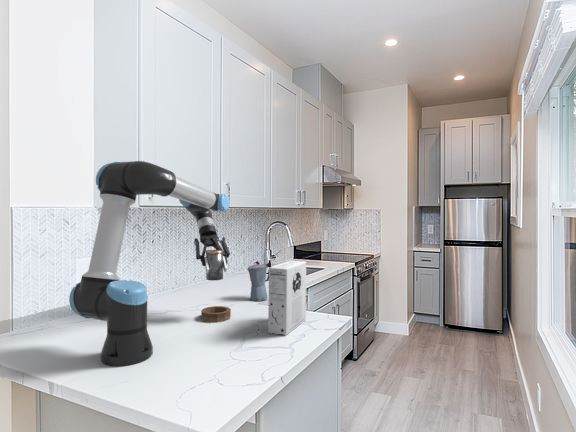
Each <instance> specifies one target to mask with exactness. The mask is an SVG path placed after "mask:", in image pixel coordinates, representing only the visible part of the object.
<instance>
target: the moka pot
mask: <svg viewBox="0 0 576 432" xmlns="http://www.w3.org/2000/svg"><path fill="white" fill-rule="evenodd" d="M259 262H260V261H258V260H256V261H255V264H254V265H250V266H248V267H247V269H246V270H247V271H248V273H249V279H250V282H251V284H250V285H251V287H250V301H253V302H263V301H266V300H268V299H269V296H268V293H267V285H266V282H269V268H270V267H272V266H271V265H270V264H269V263H268V262H267V263H266V264H265V263H264V264H259ZM267 268H268V269H267ZM267 270H268V271H267Z"/></svg>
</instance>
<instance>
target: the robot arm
mask: <svg viewBox="0 0 576 432" xmlns="http://www.w3.org/2000/svg"><path fill="white" fill-rule="evenodd" d="M95 185H96V186H97V190H98V191H99V198H100V199H101V200H102V206H101V210H100V211H101V212H100V216H99V220H98V223H97V229H96V234H95V239H94V242H93V248H92V252H91V257H90V262H89V266H88V269H87V271H86V272H85V273H83V274H82V275H81V279H80V281H79V282H78V283H76V284H75V286H73V287H72V288H71V291H70V293H69V297H68V298H69V299H68V300H69V301H68V302H69V306H70V309H71V310H72V311H73V313H74V314H76V315H77V316H80V317H82V318H85V319H88V320H89V319H94V320H99V321H104V322H106V329H107V330H106V338H105V340H104V343H103V346H102V349H101V352H100V361H101V363H102V364H104V365H107V366H113V367H117V366H118V367H119V366H122V367H123V366H129V365H134V364H139V363H141V362H144V361H146V360H148V359H149V358H151V357H152V356H151V355H153V354H154V347H153V343H152V339H151V338H150V337H151V336H150V335H149V332H148V299H149V298H148V292H147V286H146V285H145V284H144V283H142V282H141V281H137V280H129V279H128V280H126V279H122V280H121V278H120V277H119V276H118V275H117V271H118V266H119V261H120V256H121V252H122V246H123V242H124V237H125V231H126V225H127V221H128V218H129V217H128V216H129V211H130V207H131V206H132V205H134V204H135V203H136V200H137V196H141V195H153V196H156V195H157V196H160V197H168V196H169V197H171V198H175V199H177V200H178V201H179V203H180V204H181V206H183V208H184V209H186V211H188V212H189V213H190V214H191V215H192V216H193V217H194V219H195V220H196V224H197V225H196V226H197V230H198V234H199V238H194V241H193V244H194V246H195V260H197V261H198V260H200V263H201V265H202V267H204V268H205V273H208V272H209V266H208V262H207V258H206V251H207V248H210V247H212V248H213V249H214V250H223V273H226V272H227V270H228V266H227V265H228V258H230V255H231V253H230V249H229V248H228V245H227V243H226V238H225V237H224V236H223V237H222V238H221V237H219V236H218V234H217V229H216V225H215V222H214V218H213V214H212V212H219V213H220V212H226V211H228V209H229V207H230V202H231V201H230V198H229V196H228V195H227V194H225V193H215V192H213V191H211V190H208V189H206V188H203V187H201V186H199V185H197V184H195V183H192V182H190V181H187V180H185V179H183V178H181V177H178V176H176V173H174V172H173V171H171V170H169V169H166V168H164V167H161V166H159V165H157V164H154V163H153V162H152V163H151V162H147V161H144V160H135V161H113V162H109V163H106V164H103V165H102V166H101V168H99V170H98V171H97V173H96V176H95ZM200 243H201V244H202V245H203V249H202V253H201V250H200V249H201V248H200Z"/></svg>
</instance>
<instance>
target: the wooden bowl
mask: <svg viewBox="0 0 576 432" xmlns="http://www.w3.org/2000/svg"><path fill="white" fill-rule="evenodd" d="M231 309H232V308H230V307H228V306H222V305H217V306H216V305H214V306H207V307H204V308H202V309H201V313H200V314H201V320H202V321H203V322H207V323H222V322H226V321H229V320H230V319H231V318H232V317H231V316H232V315H231V313H232V312H231Z"/></svg>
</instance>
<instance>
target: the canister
mask: <svg viewBox="0 0 576 432" xmlns="http://www.w3.org/2000/svg"><path fill="white" fill-rule="evenodd" d="M223 251H224V250H216V249H208V250H207V249H206V252H205V257H206V258H207V262H208V266H209V272H208V273H206V272H205V273H206V274H205V275H206V276H205V277H206V278H205V279H206V280H207V281H222V280H223V279H224V269H223Z"/></svg>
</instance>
